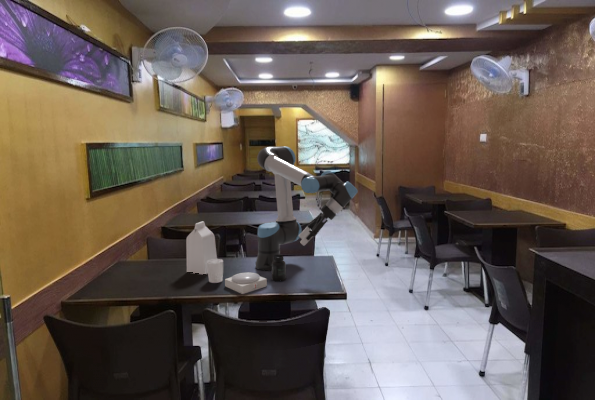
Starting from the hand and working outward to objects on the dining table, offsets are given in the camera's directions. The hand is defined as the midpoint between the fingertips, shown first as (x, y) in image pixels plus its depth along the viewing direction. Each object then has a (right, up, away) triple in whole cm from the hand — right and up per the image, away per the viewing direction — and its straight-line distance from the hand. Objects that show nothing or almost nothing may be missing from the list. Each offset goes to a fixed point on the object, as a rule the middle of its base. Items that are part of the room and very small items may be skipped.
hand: (301, 240), depth 198 cm
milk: (-53, -18, +20) cm, 59 cm away
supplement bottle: (-11, -20, +3) cm, 23 cm away
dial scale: (-26, -21, -6) cm, 34 cm away
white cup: (-42, -20, +3) cm, 47 cm away
